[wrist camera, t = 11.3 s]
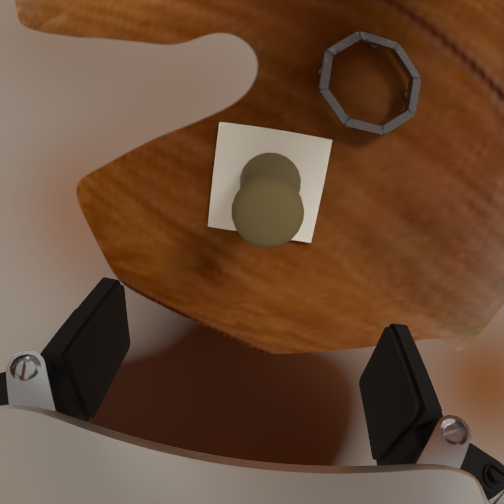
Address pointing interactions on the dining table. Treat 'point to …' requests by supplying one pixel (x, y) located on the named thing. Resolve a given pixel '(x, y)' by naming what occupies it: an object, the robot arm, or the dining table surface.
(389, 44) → the ring stand
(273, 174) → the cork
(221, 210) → the plate
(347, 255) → the dining table surface
